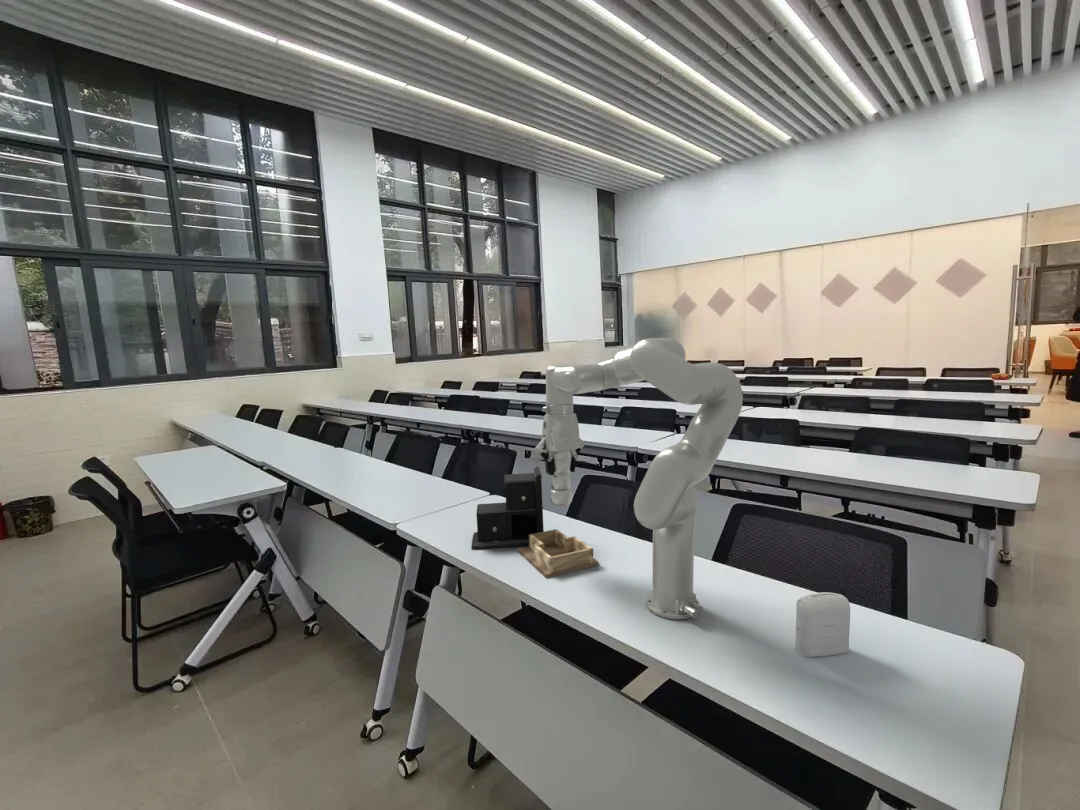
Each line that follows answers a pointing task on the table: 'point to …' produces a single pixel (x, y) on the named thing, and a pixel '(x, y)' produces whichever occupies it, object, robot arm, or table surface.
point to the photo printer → (822, 624)
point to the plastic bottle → (561, 479)
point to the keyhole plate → (557, 553)
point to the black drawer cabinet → (511, 514)
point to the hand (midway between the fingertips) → (560, 472)
